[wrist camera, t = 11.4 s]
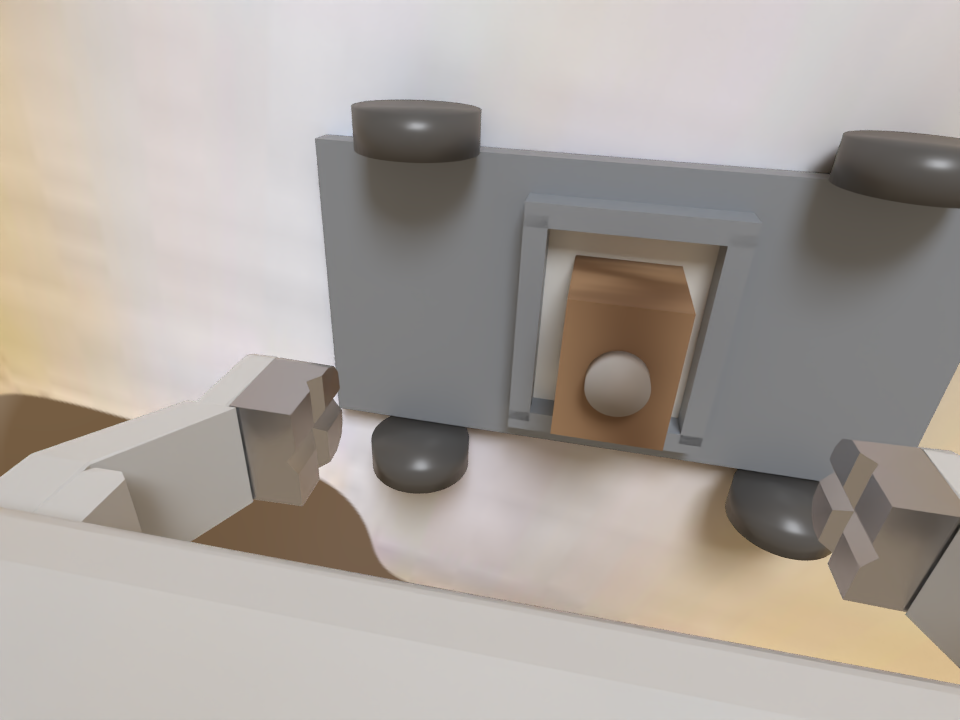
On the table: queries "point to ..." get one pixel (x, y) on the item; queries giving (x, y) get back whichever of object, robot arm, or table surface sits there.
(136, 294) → the table surface
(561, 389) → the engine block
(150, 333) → the table surface
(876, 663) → the table surface
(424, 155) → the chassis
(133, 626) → the robot arm
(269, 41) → the table surface
